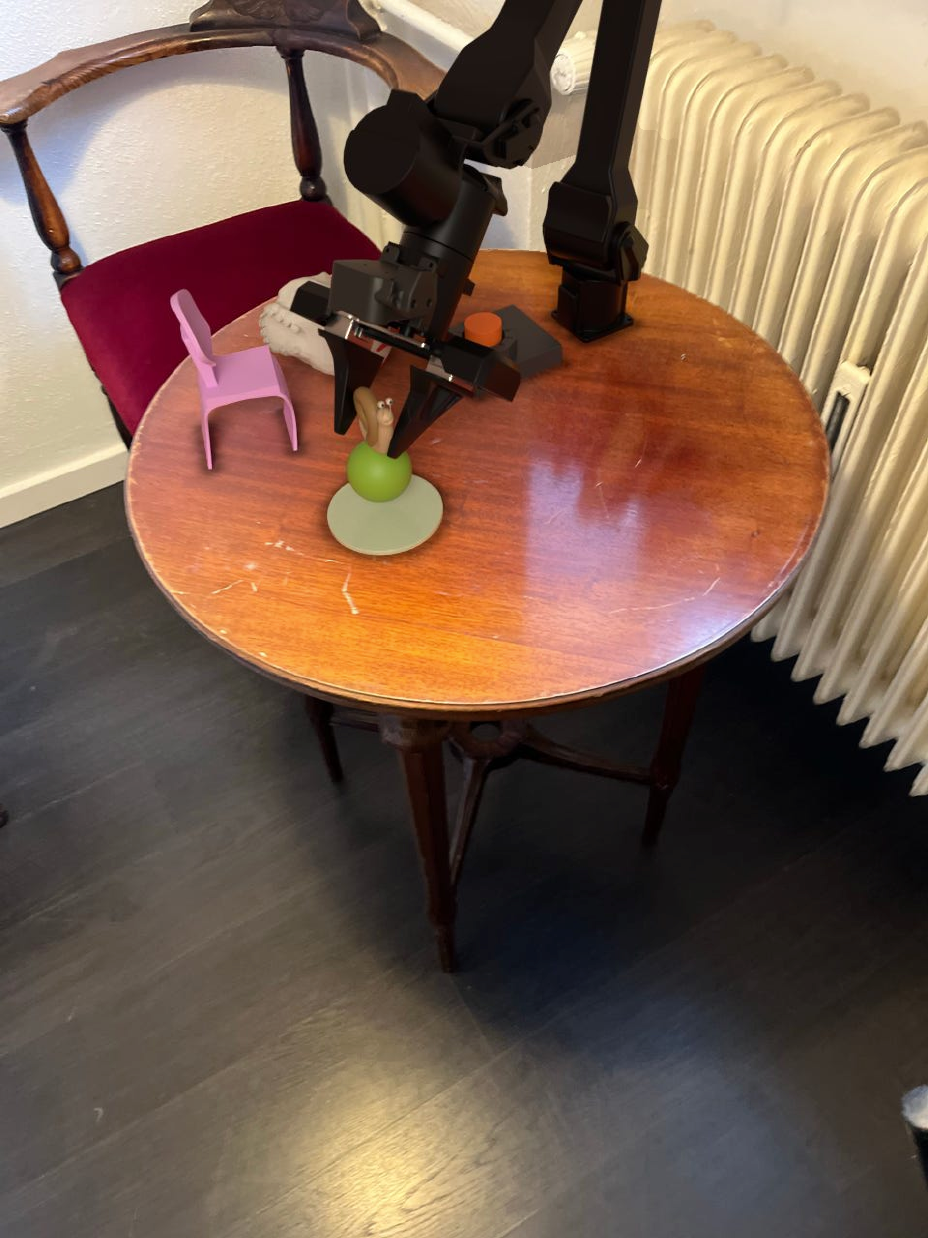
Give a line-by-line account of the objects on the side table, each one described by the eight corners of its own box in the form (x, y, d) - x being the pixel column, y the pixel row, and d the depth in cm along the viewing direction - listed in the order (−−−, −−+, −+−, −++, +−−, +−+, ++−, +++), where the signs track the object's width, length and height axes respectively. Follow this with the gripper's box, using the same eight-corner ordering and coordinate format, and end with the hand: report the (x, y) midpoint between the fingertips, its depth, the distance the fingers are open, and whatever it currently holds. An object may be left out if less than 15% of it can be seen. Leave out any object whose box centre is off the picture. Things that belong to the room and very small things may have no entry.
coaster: (408, 460, 81) (408, 456, 81) (464, 525, 76) (464, 521, 75) (309, 502, 78) (308, 497, 78) (359, 572, 73) (358, 568, 72)
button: (489, 323, 88) (489, 307, 87) (508, 341, 86) (508, 324, 85) (458, 335, 87) (457, 319, 86) (477, 353, 85) (476, 337, 84)
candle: (260, 366, 91) (373, 321, 98) (330, 412, 85) (443, 361, 93) (249, 280, 84) (370, 239, 92) (323, 324, 79) (445, 276, 87)
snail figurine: (373, 532, 73) (352, 414, 64) (341, 487, 77) (316, 369, 67) (431, 507, 75) (419, 389, 65) (396, 464, 78) (380, 346, 69)
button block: (513, 322, 95) (513, 287, 92) (561, 363, 90) (563, 328, 87) (429, 354, 92) (426, 319, 89) (474, 398, 87) (473, 363, 84)
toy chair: (304, 456, 82) (270, 309, 71) (209, 477, 81) (158, 331, 69) (290, 403, 87) (256, 259, 76) (200, 422, 86) (152, 278, 75)
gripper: (279, 174, 63) (209, 384, 67) (496, 243, 56) (406, 475, 59) (365, 233, 73) (300, 413, 76) (558, 297, 66) (478, 494, 69)
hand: (364, 445), depth 70 cm, fingers closed on snail figurine, 5 cm apart
